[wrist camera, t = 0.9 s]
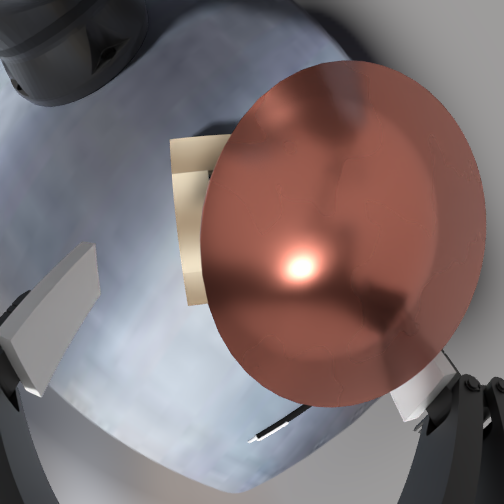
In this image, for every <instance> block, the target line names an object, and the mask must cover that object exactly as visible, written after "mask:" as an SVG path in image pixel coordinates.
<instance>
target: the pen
mask: <svg viewBox="0 0 504 504" xmlns="http://www.w3.org/2000/svg"><path fill="white" fill-rule="evenodd" d="M310 407H311V406H310V405H305V404H303V405H302V406H301V407H299V408H298V409H296V410H295V411H293V412H292V413H290V414H289V415H287V416H286V417H284V418H283V419H281V420H279V421H278V422H276V423H275V424H273V425H271V426H270V427H268V428H267V429H265V430H263V431H262V432H260V433H258V434H256V435H255V437H254V438H252V439H251V440H249V441H248V443H251V442H253V441H254V440H257V441H260V440H262V439H264V438H266V437H267V436H269V435H271V434H272V433H274V432H276V431H277V430H279V429H281V428H282V427H284V426H285V425H287V424H289V423H288V422H289V421H291V420H292V419H294V418H295V417H297V416H298V415H300V414H301V413H303V412H304V411H306V410H307V409H309V408H310Z"/></svg>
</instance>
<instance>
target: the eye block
mask: <svg viewBox="0 0 504 504" xmlns="http://www.w3.org/2000/svg"><path fill="white" fill-rule="evenodd" d="M230 136H231V134H226V135H211V136H199V137H188V138H179V139H171V140H170V152H171V168H172V181H173V193H174V204H175V214H176V223H177V232H178V240H179V248H180V256H181V263H182V270H183V277H184V283H185V290H186V296H187V302H188V306H192V305H200V304H207V303H208V301H207V296H206V291H205V286H204V282H203V277H202V268H201V255H200V225H201V214H202V207H203V202H204V198H205V194H206V190H207V186H208V182H209V177H208V175H212V172H213V170H214V167H215V165H216V162H217V160H218V157H219V156H220V154H221V152H222V150H223V148H224V146H225V144H226V143H227V141H228V139H229V138H230Z"/></svg>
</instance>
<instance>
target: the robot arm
mask: <svg viewBox="0 0 504 504" xmlns="http://www.w3.org/2000/svg"><path fill="white" fill-rule="evenodd" d="M147 29H148V14H147V9H146V4H145V1H144V0H0V59H1V61H2V63H3V65H4V68H5V70H6V72H7V74H8V76H9V78H10V79H11V82H12V85H13V87H14V88H15V90H16V91H17V92H18V93H19V94H20V95H21V96H22V97H24V98H25V99H27V100H29V101H30V102H32V103H34V104H36V105H39V106H45V107H53V106H60V105H65V104H68V103H71V102H74V101H76V100H79V99H81V98H83V97H85V96H87V95H89V94H91V93H92V92H94V91H96V90H97V89H99V88H100V87H102V86H103V85H105V84H106V83H107V82H108V81H110V80H111V79H112V78H113V77H115V76H116V75H117V74H118V73H119V72H120V71H121V70H122V69H123V68H124V67H125V66H126V65H127V64H128V63H129V62H130V60H131V59H132V58H133V57H134V55H135V54H136V52H137V51H138V50H139V48H140V46H141V44H142V42H143V40H144V38H145V36H146V33H147ZM100 295H101V291H100V284H99V276H98V267H97V257H96V246H95V243H88V242H81V243H80V244H79V245H78V246H76V247H75V248H74V249H73V250H72V251H71V252H70V253H69V254H68V255H67V256H66V257H65V258H63V259H62V260H61V261H60V262H59V263H58V264H57V265H56V266H55V267H54V268H53V269H52V270H51V271H50V272H49V273H48V274H47V275H46V276H45V277H44V278H43V279H42V280H41V281H40V282H39V283H38V284H37V285H36V286H35V287H34V289H33V290H32V291H31V290H28V291H27V292H25V293H23V294H22V295H20V296H19V297H18V298H17V299H16V300H15V301H14V302H13V303H12V306H10V307H9V308H8V309H7V312H4V314H3V315H2V316H1V317H0V504H59V502H58V500H57V498H56V497H55V494H54V492H53V490H52V489H51V486H50V484H49V482H48V480H47V477H46V475H45V473H44V470H43V468H42V465H41V463H40V460H39V458H38V455H37V452H36V450H35V447H34V444H33V441H32V438H31V435H30V431H29V428H28V425H27V421H26V418H25V413H24V410H23V406H22V401H21V396H20V393H19V390H18V388H17V384H18V383H19V381H21V383H22V384H23V386H24V388H25V389H26V390H27V391H29V392H31V393H33V394H35V395H37V396H39V397H42V396H43V394H44V392H45V390H46V388H47V386H48V384H49V382H50V380H51V378H52V376H53V374H54V372H55V370H56V368H57V366H58V364H59V363H60V361H61V359H62V357H63V355H64V354H65V352H66V350H67V348H68V346H69V345H70V343H71V341H72V340H73V338H74V336H75V334H76V333H77V331H78V329H79V328H80V326H81V325H82V323H83V321H84V320H85V318H86V316H87V315H88V313H89V312H90V310H91V309H92V307H93V305H94V304H95V302H96V301H97V299H98V298H99V296H100ZM390 394H391V396H392V398H393V400H394V402H395V404H396V406H397V408H398V410H399V413H400V415H401V417H402V419H403V421H404V422H406V421H409V420H413V419H416V418H418V417H419V416H420V414H422V413H423V411H425V409H426V410H427V412H428V415H427V416H426V417H425V418H424V419H423V420H422V421H421V422H420V423H419V424H418V425H417V426H416V427H415V429H414V431H416V430H417V429H418V428H420V427H421V426H422V429H421V430H420V431H419V433H421V434H420V438H419V442H418V446H417V449H416V453H415V456H414V460H413V463H412V466H411V469H410V472H409V475H408V478H407V480H406V483H405V486H404V488H403V491H402V494H401V496H400V499H399V501H398V503H397V504H504V380H503V379H502V378H499V377H494V378H492V380H491V381H490V382H489V383H488V384H487V385H480V383H479V381H478V380H476V379H475V378H474V377H473V376H471V375H468V374H464V375H462V376H461V374H460V373H459V372H458V370H457V369H456V367H455V366H454V364H453V363H452V362H451V360H450V359H449V357H448V356H447V355H446V354H444V351H443V349H442V350H441V351H440V352H439V353H438V355H437V356H436V357H435V358H434V359H433V360H432V361H431V362H430V363H429V364H428V365H427V366H426V367H425V368H424V369H423V370H421V371H420V372H419V373H418V374H417V375H415V376H414V377H413V378H412V379H410V380H409V381H407V382H406V383H404V384H403V385H401V386H400V387H398V388H397V389H395V390H393V391H391V392H390ZM490 416H491V420H492V422H491V423H490V424H489V425H488V426H486V427H485V428H484V429H483V423H484V422H485V421H486V420H487V419H488V418H489V417H490Z"/></svg>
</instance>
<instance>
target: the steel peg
mask: <svg viewBox="0 0 504 504" xmlns="http://www.w3.org/2000/svg"><path fill="white" fill-rule="evenodd" d="M485 239H486V209H485V199H484V193H483V187H482V182H481V178H480V174H479V170H478V167H477V164H476V161H475V158H474V156H473V154H472V151H471V148H470V146H469V144H468V142H467V140H466V138H465V136H464V134H463V133H462V131H461V129H460V128H459V126H458V125H457V123H456V121H455V120H454V118H453V117H452V116H451V114H450V113H449V112H448V111H447V109H446V108H445V107H444V106H443V105H442V103H440V102H439V101H438V99H436V98H435V97H434V96H433V95H432V94H431V93H430V92H429V91H428V90H427V89H425V88H424V87H423V86H421V85H420V84H419V83H417V82H416V81H414V80H413V79H411V78H409V77H407V76H405V75H404V74H402V73H400V72H398V71H395V70H393V69H390V68H387V67H385V66H382V65H378V64H373V63H369V62H364V61H335V62H328V63H322V64H319V65H315V66H312V67H309V68H306V69H303V70H301V71H299V72H297V73H295V74H293V75H291V76H289V77H288V78H286V79H284V80H282V81H280V82H279V83H278V84H276V85H275V86H274V87H273V88H271V89H270V90H269V91H268V92H267V93H265V94H264V95H263V96H262V97H260V98H259V99H258V100H257V102H256V103H255V104H254V105H253V106H252V107H251V108H250V110H249V111H248V112H247V113H246V114H245V115H244V116H243V118H242V119H241V120H240V122H239V123H238V125H237V126H236V128H235V130H234V131H233V133H232V134H231V136H230V138H229V139H228V141H227V143H226V144H225V146H224V148H223V150H222V152H221V154H220V156H219V157H218V160H217V162H216V165H215V167H214V170H213V172H212V175H211V177H210V179H209V182H208V186H207V190H206V194H205V198H204V202H203V207H202V214H201V225H200V255H201V268H202V277H203V282H204V286H205V291H206V296H207V301H208V305H209V308H210V311H211V314H212V316H213V319H214V321H215V324H216V327H217V329H218V332H219V334H220V335H221V337H222V339H223V341H224V342H225V344H226V346H227V347H228V349H229V351H230V353H231V354H232V356H233V357H234V358H235V359H236V360H237V362H238V363H239V364H240V365H241V366H242V368H243V369H244V370H245V371H246V372H247V373H248V374H249V375H250V376H251V377H253V378H254V379H255V380H256V381H257V382H258V383H260V384H261V385H262V386H263V387H265V388H267V389H268V390H270V391H272V392H273V393H275V394H277V395H279V396H281V397H283V398H286V399H288V400H291V401H294V402H296V403H300V404H305V405H310V406H315V407H342V406H351V405H355V404H359V403H363V402H367V401H370V400H373V399H375V398H378V397H381V396H383V395H385V394H387V393H389V392H391V391H393V390H395V389H397V388H398V387H400V386H401V385H403V384H404V383H406V382H407V381H409V380H410V379H412V378H413V377H414V376H415V375H417V374H418V373H419V372H420V371H421V370H423V369H424V368H425V367H426V366H427V365H428V364H429V363H430V362H431V361H432V360H433V359H434V358H435V357H436V356H437V355H438V353H439V352H440V351H441V350H442V349H443V347H444V346H445V345H446V344H447V342H448V341H449V339H450V338H451V337H452V335H453V334H454V332H455V331H456V329H457V327H458V326H459V324H460V322H461V320H462V318H463V317H464V315H465V313H466V311H467V308H468V306H469V304H470V302H471V299H472V297H473V294H474V291H475V289H476V285H477V282H478V279H479V275H480V271H481V267H482V262H483V256H484V250H485Z"/></svg>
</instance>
